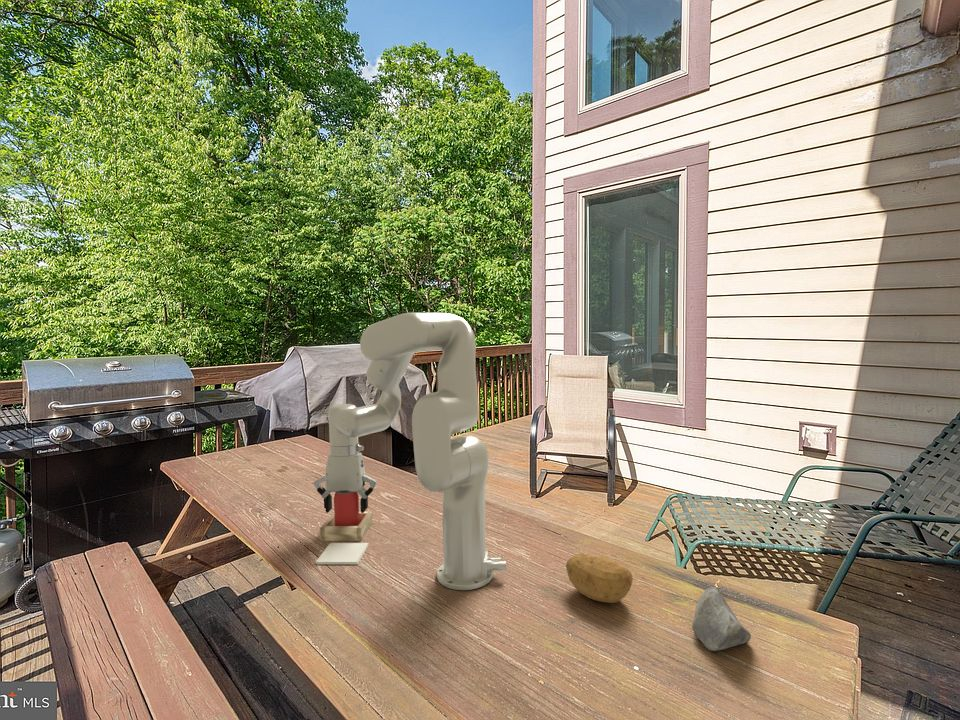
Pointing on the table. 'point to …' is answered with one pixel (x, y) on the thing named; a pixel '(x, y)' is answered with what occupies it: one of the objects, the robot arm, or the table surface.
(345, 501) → the beer can
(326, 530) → the frame
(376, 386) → the robot arm
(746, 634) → the stone
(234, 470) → the table surface
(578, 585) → the potato
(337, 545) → the coaster
